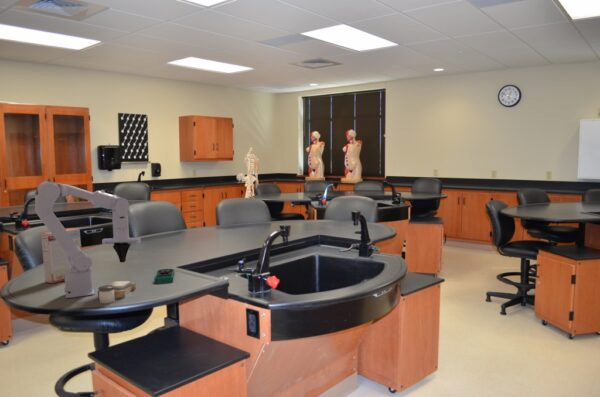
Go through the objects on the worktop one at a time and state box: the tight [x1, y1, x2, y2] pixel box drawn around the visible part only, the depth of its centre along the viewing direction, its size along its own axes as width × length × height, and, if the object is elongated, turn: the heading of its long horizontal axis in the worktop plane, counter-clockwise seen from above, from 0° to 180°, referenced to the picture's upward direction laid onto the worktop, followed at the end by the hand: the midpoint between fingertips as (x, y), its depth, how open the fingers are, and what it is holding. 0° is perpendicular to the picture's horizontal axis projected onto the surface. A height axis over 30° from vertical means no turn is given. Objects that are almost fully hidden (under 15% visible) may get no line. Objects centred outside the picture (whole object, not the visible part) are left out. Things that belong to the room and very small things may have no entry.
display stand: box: [97, 282, 137, 299], centre depth 175 cm, size 10×11×2 cm
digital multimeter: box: [153, 268, 176, 284], centre depth 196 cm, size 7×15×3 cm, turn 12°
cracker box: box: [40, 227, 82, 284], centre depth 197 cm, size 14×6×21 cm, turn 148°
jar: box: [98, 284, 116, 305], centre depth 165 cm, size 5×5×5 cm
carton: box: [106, 280, 132, 295], centre depth 175 cm, size 7×6×4 cm
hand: (122, 261), depth 183 cm, fingers closed
